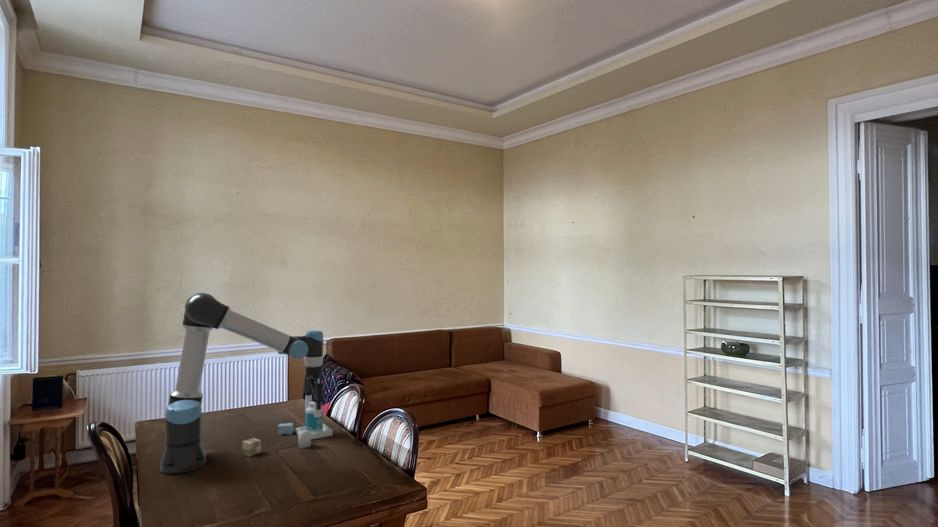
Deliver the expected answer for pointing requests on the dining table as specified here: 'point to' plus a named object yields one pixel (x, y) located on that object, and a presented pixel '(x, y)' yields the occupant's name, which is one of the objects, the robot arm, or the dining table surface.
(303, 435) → the grey cylinder
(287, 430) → the blue block
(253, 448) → the oak cube
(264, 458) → the dining table surface
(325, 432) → the tray
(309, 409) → the pill bottle
